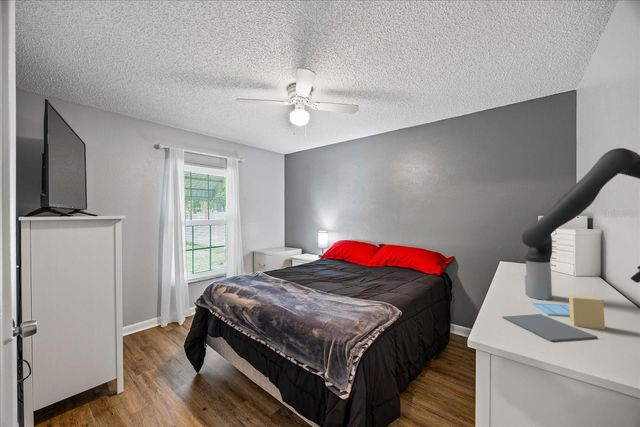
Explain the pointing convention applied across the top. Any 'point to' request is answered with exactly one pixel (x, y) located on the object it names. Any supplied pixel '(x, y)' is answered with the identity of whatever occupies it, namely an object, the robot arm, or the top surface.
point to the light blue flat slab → (553, 309)
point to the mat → (549, 328)
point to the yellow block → (587, 311)
